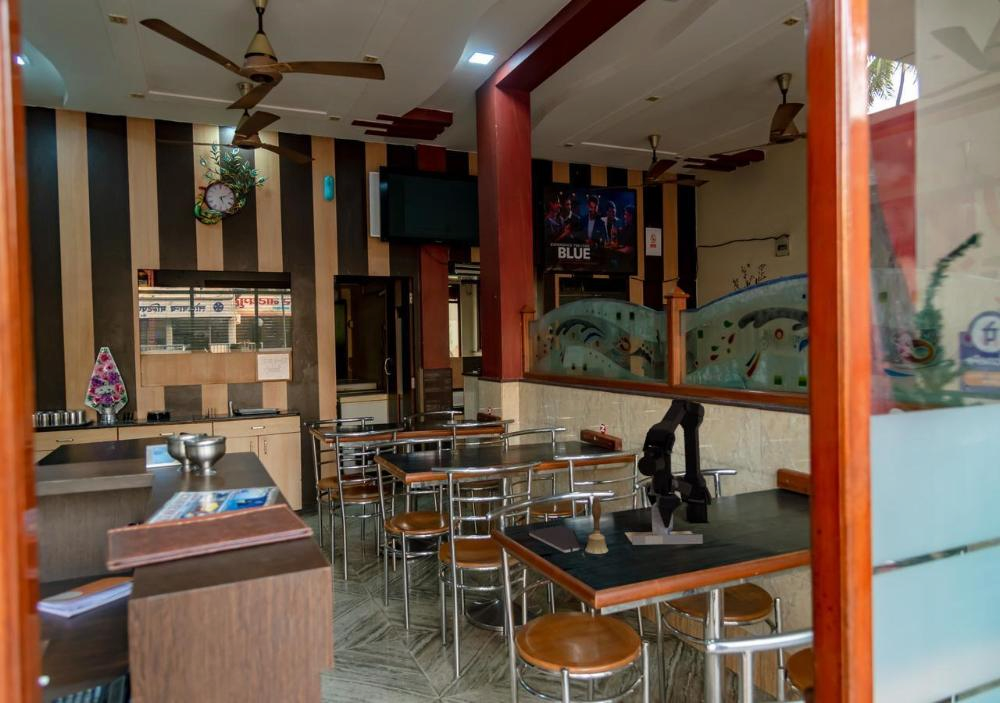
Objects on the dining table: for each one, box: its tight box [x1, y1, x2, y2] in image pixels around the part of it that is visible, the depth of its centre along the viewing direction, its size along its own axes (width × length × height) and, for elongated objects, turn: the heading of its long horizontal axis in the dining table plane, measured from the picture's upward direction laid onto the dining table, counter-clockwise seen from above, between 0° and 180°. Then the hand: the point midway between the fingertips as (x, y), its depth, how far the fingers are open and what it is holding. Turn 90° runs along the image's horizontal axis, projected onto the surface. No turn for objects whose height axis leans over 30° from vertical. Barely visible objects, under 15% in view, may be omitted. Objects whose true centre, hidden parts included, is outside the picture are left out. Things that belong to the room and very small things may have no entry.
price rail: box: [631, 533, 704, 546], centre depth 179 cm, size 20×1×2 cm, turn 90°
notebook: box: [528, 525, 583, 553], centre depth 189 cm, size 13×2×21 cm
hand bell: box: [581, 497, 609, 558], centre depth 175 cm, size 8×8×16 cm
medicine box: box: [651, 502, 674, 535], centre depth 184 cm, size 8×4×9 cm, turn 152°
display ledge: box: [624, 530, 700, 546], centre depth 184 cm, size 20×12×2 cm, turn 90°
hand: (662, 523), depth 184 cm, fingers closed on medicine box, 9 cm apart
